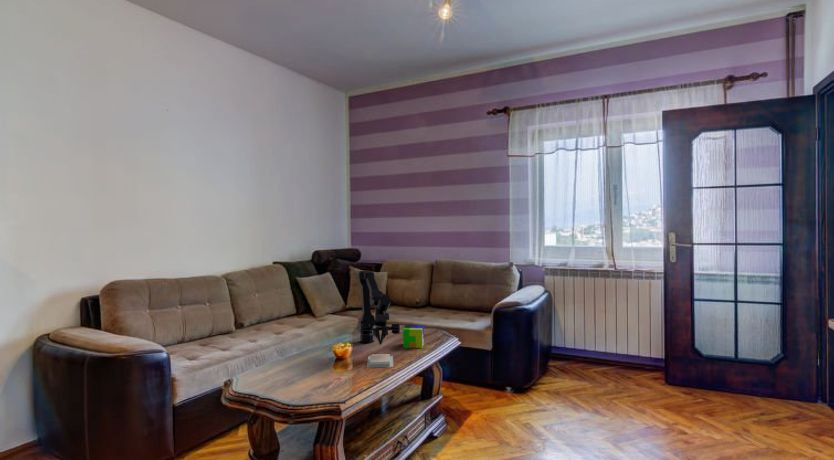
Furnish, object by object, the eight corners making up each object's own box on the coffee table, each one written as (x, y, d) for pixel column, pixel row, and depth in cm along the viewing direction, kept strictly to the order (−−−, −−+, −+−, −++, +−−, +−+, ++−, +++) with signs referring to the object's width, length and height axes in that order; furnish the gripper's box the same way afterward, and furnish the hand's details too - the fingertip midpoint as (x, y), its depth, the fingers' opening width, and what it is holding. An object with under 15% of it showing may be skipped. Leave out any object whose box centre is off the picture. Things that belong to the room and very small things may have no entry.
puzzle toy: (423, 343, 249) (423, 325, 249) (422, 348, 239) (422, 329, 239) (405, 343, 250) (405, 325, 250) (403, 348, 240) (403, 329, 240)
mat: (368, 357, 224) (368, 356, 224) (392, 356, 225) (392, 355, 225) (366, 368, 207) (366, 367, 207) (393, 367, 208) (393, 366, 208)
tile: (371, 354, 220) (370, 362, 208) (389, 354, 220) (389, 361, 208) (371, 358, 220) (370, 366, 208) (389, 358, 220) (389, 366, 208)
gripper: (361, 307, 221) (359, 335, 210) (399, 306, 222) (400, 334, 211) (362, 320, 229) (361, 348, 218) (399, 319, 230) (400, 347, 219)
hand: (380, 344), depth 217 cm, fingers closed
